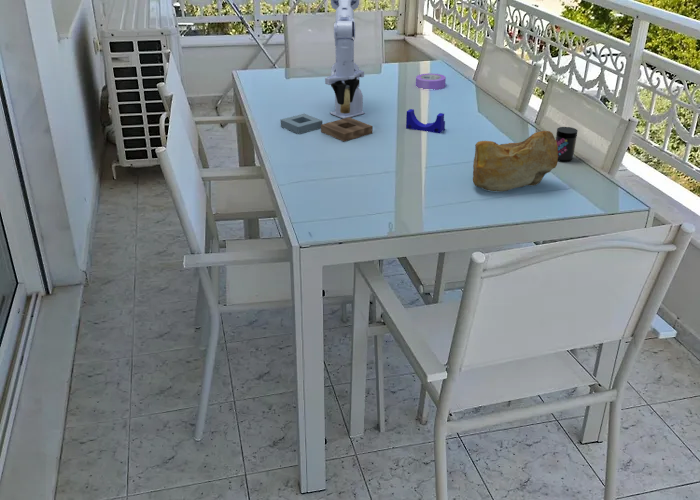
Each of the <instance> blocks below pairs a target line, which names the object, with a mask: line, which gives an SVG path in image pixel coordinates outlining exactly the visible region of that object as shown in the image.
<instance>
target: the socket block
mask: <svg viewBox="0 0 700 500" xmlns="http://www.w3.org/2000/svg"><path fill="white" fill-rule="evenodd" d="M320 133H322V134H325V135H327V136H330V137H332V138H335V139H336V140H339V141H342V142H348V141H351V140H354V139H355V140H356V139H358V138H361V137H364V136H369V135H371V134H373V125H371V124H368V123H366V122H363V121H360V120H357V119H355V118H353V117H348V118H344V119H343V118H341V119H337V120H333V121H330V122H326V123H322V125H321V128H320Z"/></svg>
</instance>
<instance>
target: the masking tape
mask: <svg viewBox="0 0 700 500" xmlns="http://www.w3.org/2000/svg"><path fill="white" fill-rule="evenodd" d="M446 79H447V78H446V76H445V75H444V74H439V73H432V72H431V73H429V72H427V73H421V74H417V75H416V77H415V87H416V86H417V87H418V88H417V87H416V88H417V89H419V88H423V89H422V90H424V89H433V90H432V91H438V90H439V89H440V90H443V89H445V88H446ZM434 89H435V90H434Z"/></svg>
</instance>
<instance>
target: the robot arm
mask: <svg viewBox="0 0 700 500" xmlns="http://www.w3.org/2000/svg"><path fill="white" fill-rule="evenodd" d="M359 5H360V0H330V6H331V8H332V9H334V10H335V22H334V23H333V38H334V46H335V63H333V64H332V66H331V69H330V75H329V76H327V77H324V84H325V85H328V86H331V89H332V90H333V91H334V104H335V105H334V107H335V109H334V111H330V112H329V114H330V115H333V116H335V117H337V118H341V119H344V118H348V117H350V118H353V117H357V116H360V115H364V114H365V112H364V111H363V110H364V109H363V106H364V105H363V104H364V102H363V100H364V98H363V97H364V96H363V92H362V89H360V78H364V77H365V71H364V70H362V69H360V67H359V64H357V63H356V62H355V39H356V21H355V16H354V15H355V11H354V10H356V9H358V8H359ZM343 83H349V84H350V113H341V112H340V104H341V105H343V104H344V92H345V87H346V85H345V84H343Z"/></svg>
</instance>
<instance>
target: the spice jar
mask: <svg viewBox="0 0 700 500" xmlns="http://www.w3.org/2000/svg"><path fill="white" fill-rule="evenodd" d="M343 84H345V85H346V87H345V92H344V104H343V105H341V104H340V112H341V113H350V84H349V83H343Z"/></svg>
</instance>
